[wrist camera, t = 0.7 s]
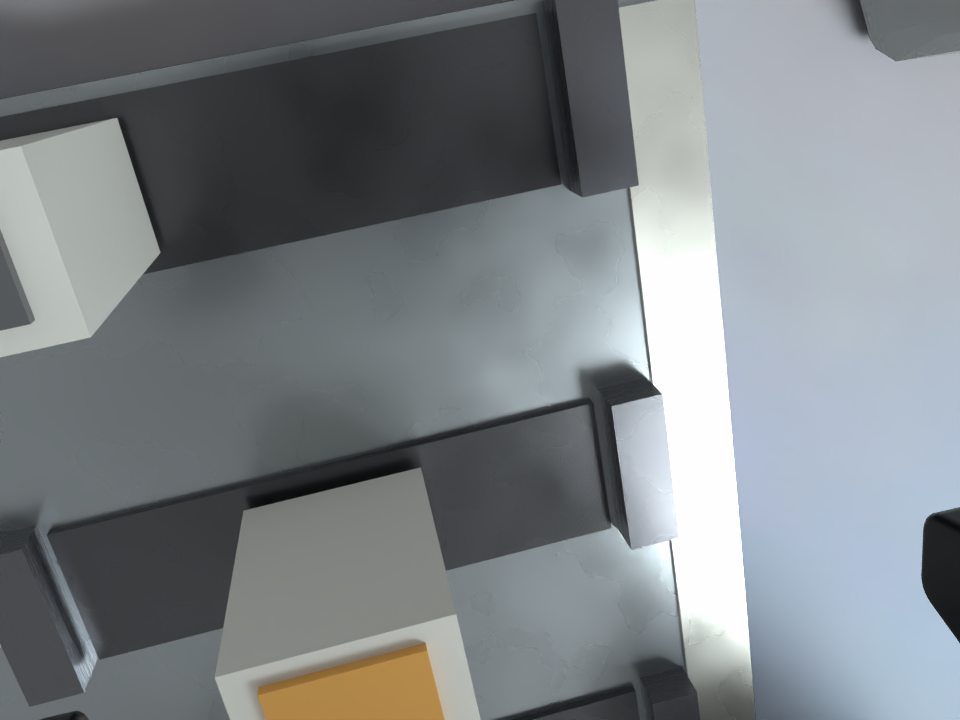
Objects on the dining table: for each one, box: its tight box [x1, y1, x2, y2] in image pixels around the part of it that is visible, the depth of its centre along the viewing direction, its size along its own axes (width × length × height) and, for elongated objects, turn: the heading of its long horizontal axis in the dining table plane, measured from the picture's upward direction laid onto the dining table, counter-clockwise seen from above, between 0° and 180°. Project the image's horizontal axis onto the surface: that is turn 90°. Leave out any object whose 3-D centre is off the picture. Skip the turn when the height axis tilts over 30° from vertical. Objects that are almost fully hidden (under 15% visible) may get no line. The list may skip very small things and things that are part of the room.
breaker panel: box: [0, 0, 756, 720], centre depth 21 cm, size 21×19×3 cm
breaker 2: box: [215, 467, 481, 720], centre depth 17 cm, size 3×4×6 cm, turn 100°
